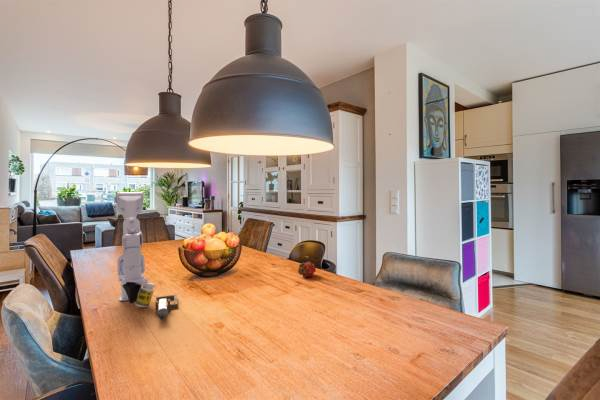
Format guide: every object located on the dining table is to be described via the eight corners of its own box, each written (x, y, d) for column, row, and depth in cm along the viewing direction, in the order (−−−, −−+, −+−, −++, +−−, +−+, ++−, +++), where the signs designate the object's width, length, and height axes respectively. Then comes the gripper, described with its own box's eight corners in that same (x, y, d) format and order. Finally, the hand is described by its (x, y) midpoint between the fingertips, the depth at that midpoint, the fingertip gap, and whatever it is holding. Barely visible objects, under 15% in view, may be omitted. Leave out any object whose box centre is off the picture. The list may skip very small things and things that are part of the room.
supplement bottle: (133, 305, 111) (141, 282, 113) (135, 303, 115) (143, 281, 117) (147, 308, 112) (155, 285, 114) (149, 305, 117) (156, 283, 119)
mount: (156, 300, 121) (156, 290, 121) (176, 298, 124) (176, 288, 124) (155, 313, 108) (155, 302, 108) (177, 310, 111) (177, 299, 111)
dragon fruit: (300, 282, 151) (309, 280, 162) (314, 274, 149) (322, 272, 160) (292, 267, 154) (301, 266, 165) (305, 259, 152) (314, 258, 163)
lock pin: (158, 306, 111) (158, 297, 111) (167, 305, 113) (167, 296, 113) (157, 319, 100) (157, 309, 100) (168, 317, 101) (167, 308, 101)
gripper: (155, 265, 112) (155, 302, 112) (131, 261, 119) (131, 296, 119) (136, 269, 106) (137, 308, 106) (112, 265, 113) (113, 301, 113)
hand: (132, 302), depth 112 cm, fingers closed
